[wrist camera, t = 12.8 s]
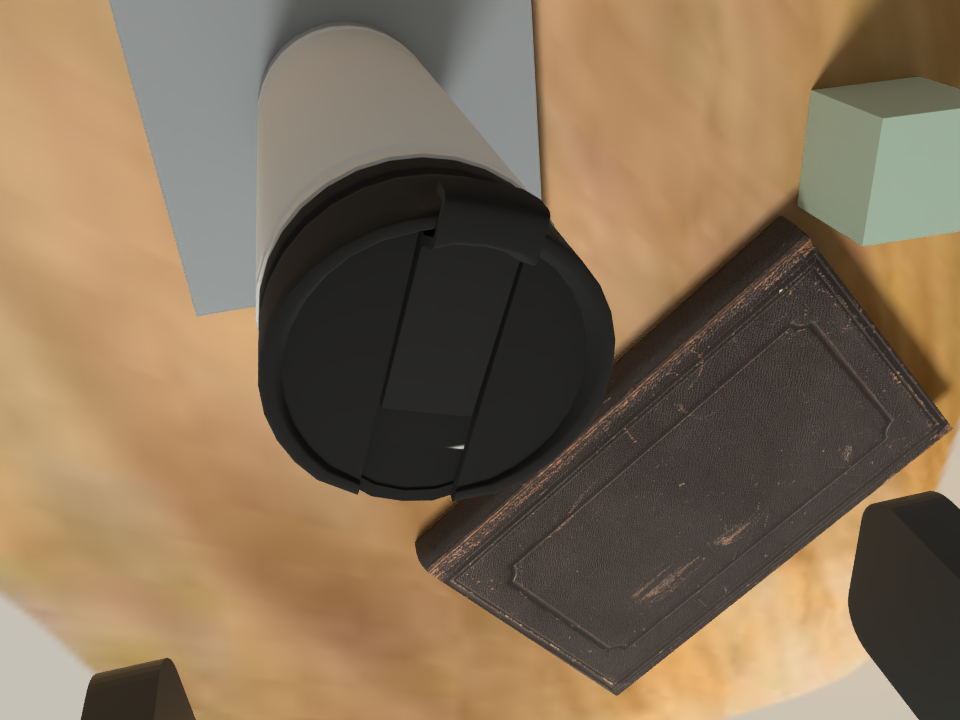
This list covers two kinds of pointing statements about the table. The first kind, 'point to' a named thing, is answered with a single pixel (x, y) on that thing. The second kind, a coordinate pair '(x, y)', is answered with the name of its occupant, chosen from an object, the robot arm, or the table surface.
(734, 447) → the hardcover book
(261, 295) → the travel mug
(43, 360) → the table surface
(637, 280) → the table surface
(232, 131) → the slate board
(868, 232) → the sage block
